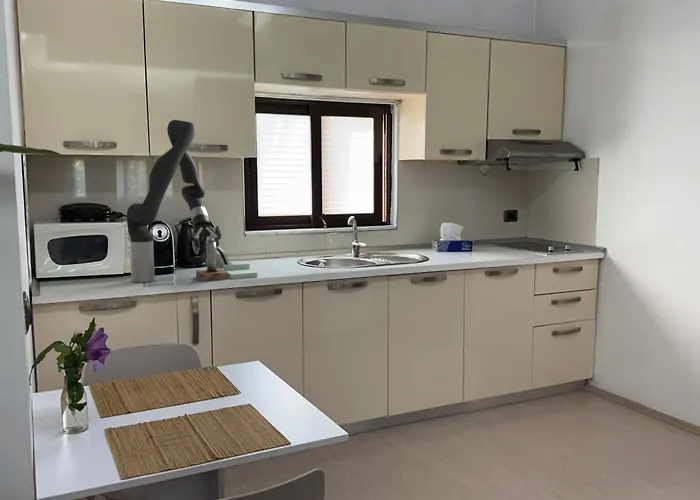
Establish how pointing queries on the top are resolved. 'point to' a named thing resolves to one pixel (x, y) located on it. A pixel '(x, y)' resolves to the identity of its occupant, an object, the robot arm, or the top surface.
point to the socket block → (211, 275)
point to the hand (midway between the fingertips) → (207, 246)
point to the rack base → (239, 271)
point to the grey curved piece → (221, 257)
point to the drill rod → (211, 256)
